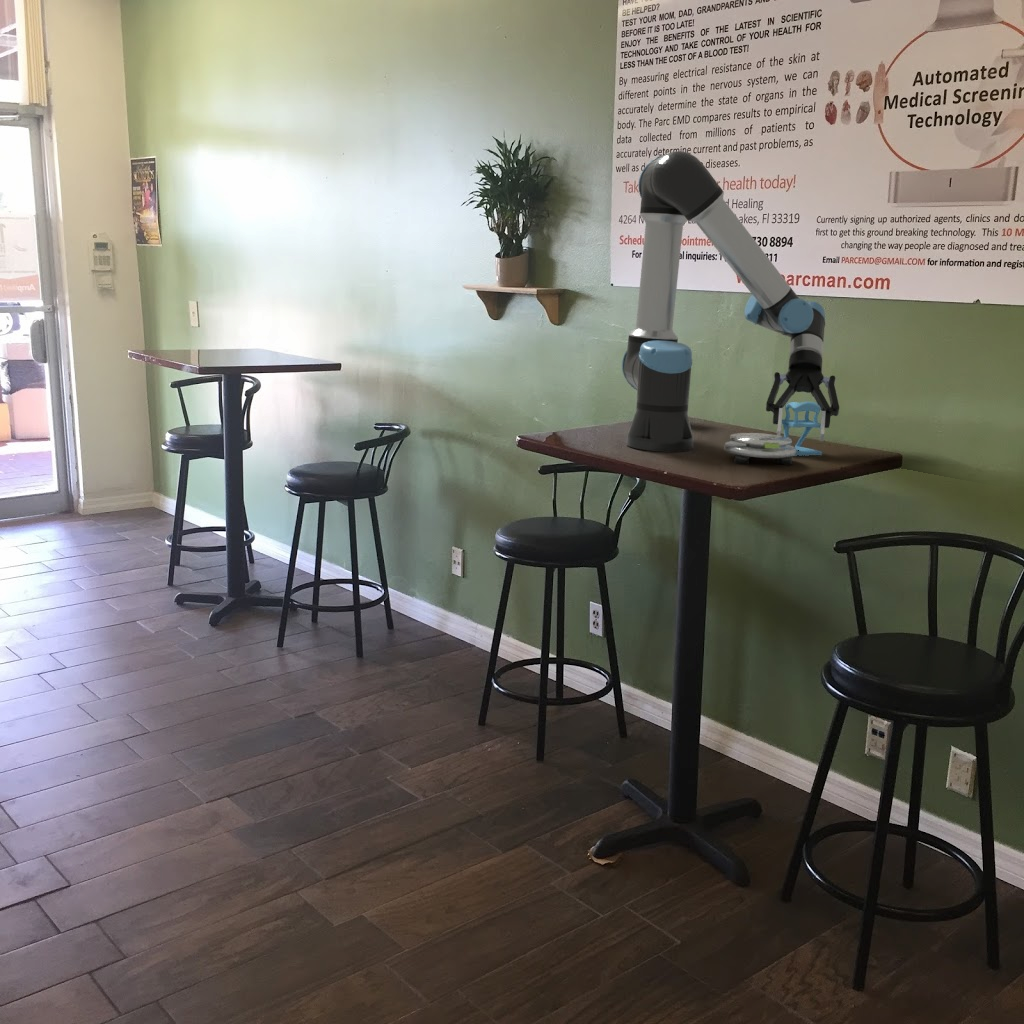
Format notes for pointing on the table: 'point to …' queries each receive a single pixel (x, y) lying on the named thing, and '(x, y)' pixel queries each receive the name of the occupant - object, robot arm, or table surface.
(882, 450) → the table surface
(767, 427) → the table surface
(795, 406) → the chair
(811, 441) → the table surface
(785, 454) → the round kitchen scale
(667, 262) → the robot arm
